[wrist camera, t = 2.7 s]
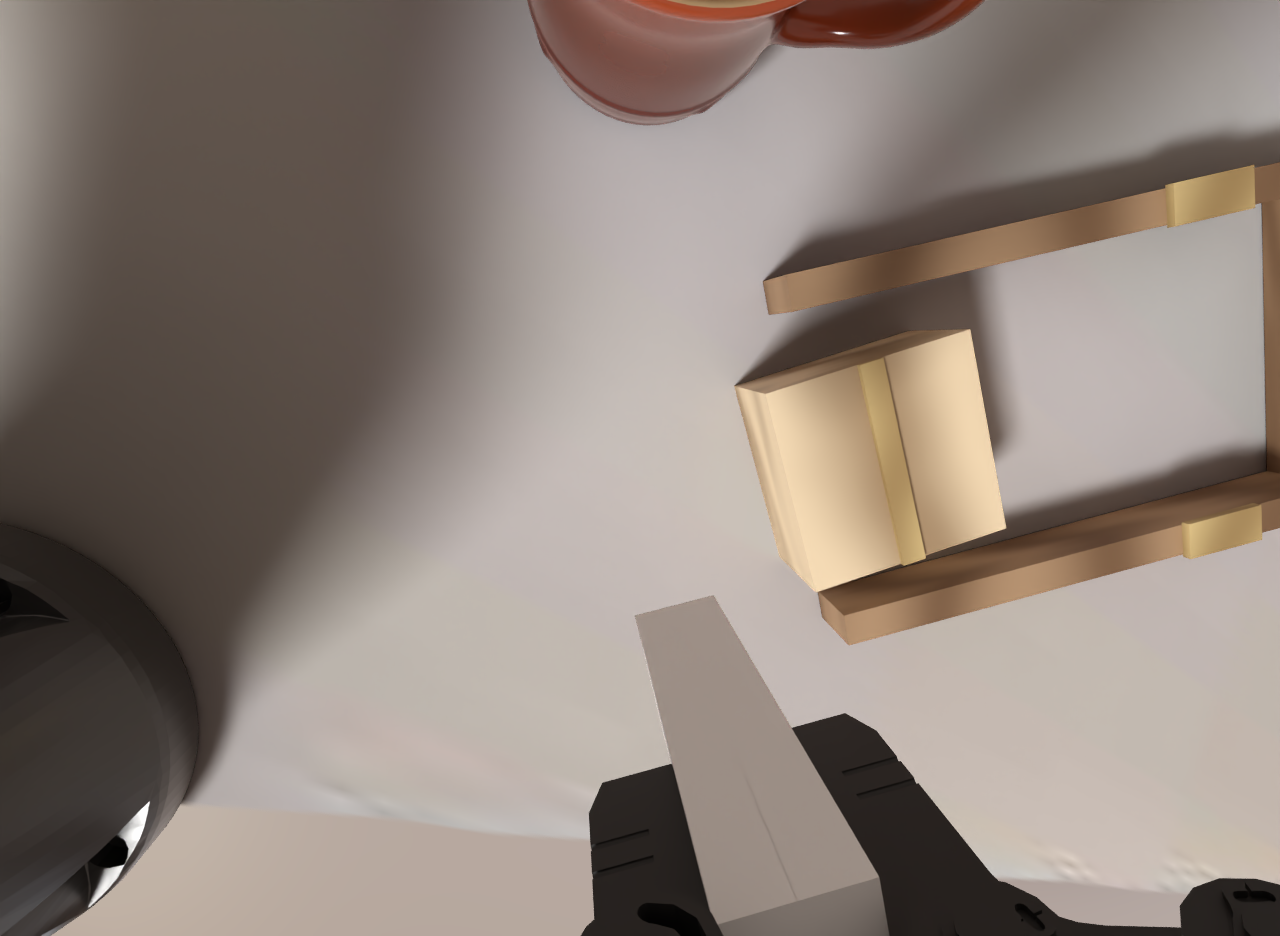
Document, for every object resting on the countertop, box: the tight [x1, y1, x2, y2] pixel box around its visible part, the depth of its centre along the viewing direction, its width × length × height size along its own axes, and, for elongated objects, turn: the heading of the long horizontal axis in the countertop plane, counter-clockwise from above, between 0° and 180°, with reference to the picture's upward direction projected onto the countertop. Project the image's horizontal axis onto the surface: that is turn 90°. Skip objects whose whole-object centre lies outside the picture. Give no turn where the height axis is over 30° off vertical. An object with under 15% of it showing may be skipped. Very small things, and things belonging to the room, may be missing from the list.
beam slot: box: [763, 162, 1280, 645], centre depth 25 cm, size 21×14×3 cm, turn 103°
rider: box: [734, 329, 1006, 592], centre depth 24 cm, size 7×7×4 cm
